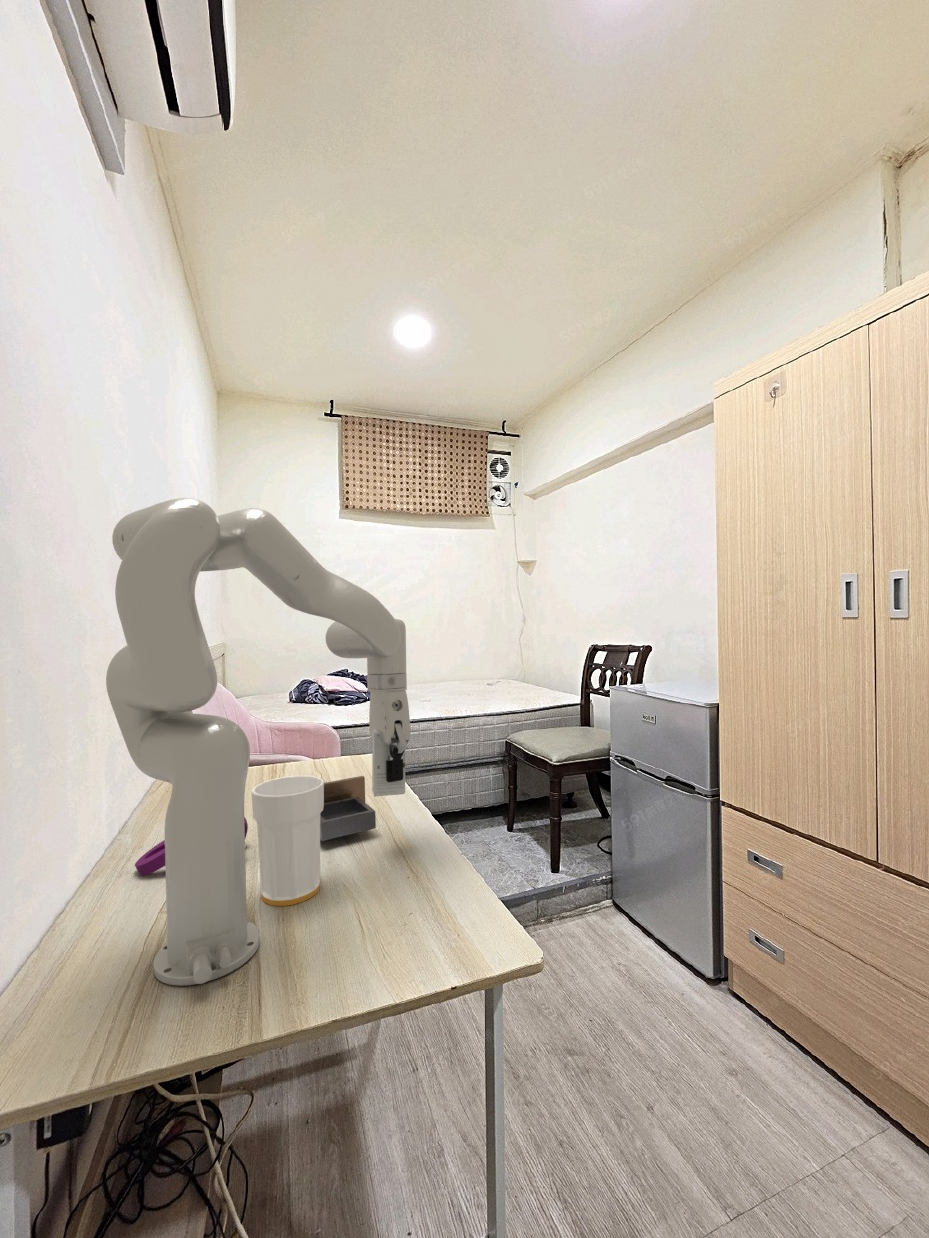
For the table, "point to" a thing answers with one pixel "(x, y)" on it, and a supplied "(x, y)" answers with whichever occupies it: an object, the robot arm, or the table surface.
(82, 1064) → the table surface
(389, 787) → the skincare box
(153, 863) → the mounting bracket
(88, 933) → the table surface
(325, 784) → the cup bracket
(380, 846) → the table surface
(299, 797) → the cup
